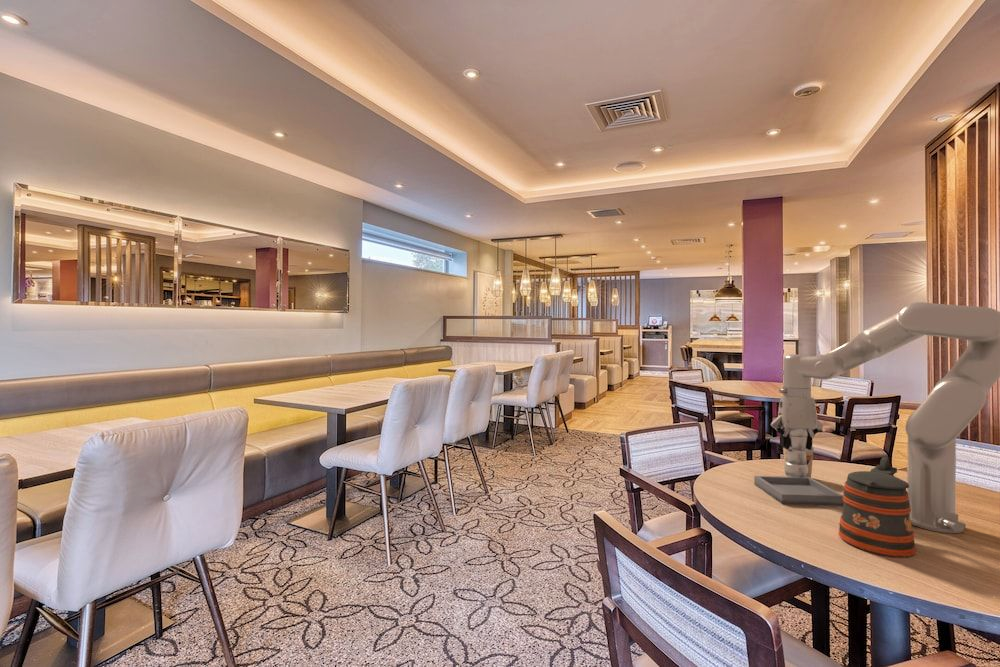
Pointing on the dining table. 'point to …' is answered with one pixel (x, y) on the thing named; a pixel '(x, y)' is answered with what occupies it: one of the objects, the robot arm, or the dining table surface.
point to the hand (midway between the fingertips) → (796, 447)
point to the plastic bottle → (797, 454)
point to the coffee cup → (808, 459)
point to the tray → (798, 491)
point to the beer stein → (877, 512)
